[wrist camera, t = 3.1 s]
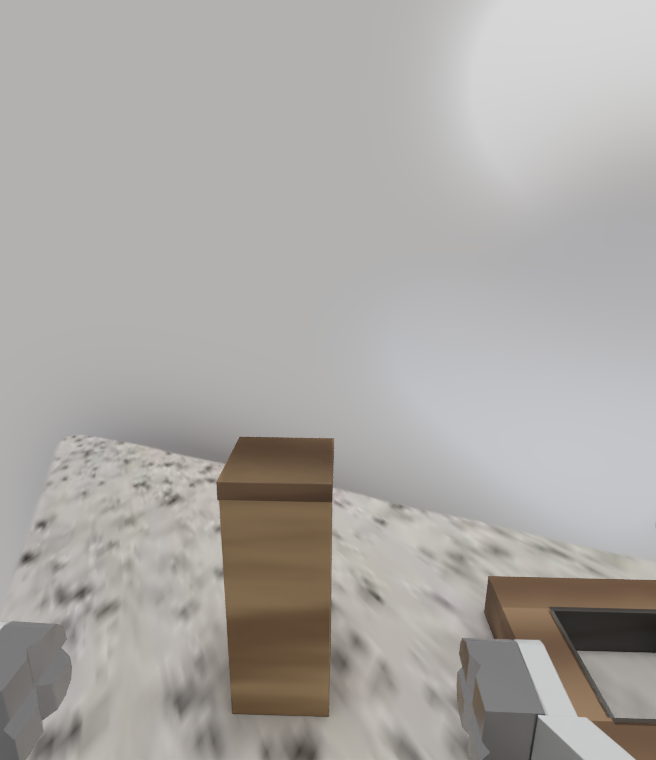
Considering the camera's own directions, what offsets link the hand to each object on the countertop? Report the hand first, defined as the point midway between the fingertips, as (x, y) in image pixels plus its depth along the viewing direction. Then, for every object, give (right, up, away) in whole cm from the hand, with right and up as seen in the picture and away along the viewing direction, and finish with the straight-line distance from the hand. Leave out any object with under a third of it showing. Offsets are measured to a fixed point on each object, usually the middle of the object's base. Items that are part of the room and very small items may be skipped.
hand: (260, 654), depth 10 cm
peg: (-1, -9, +15) cm, 18 cm away
